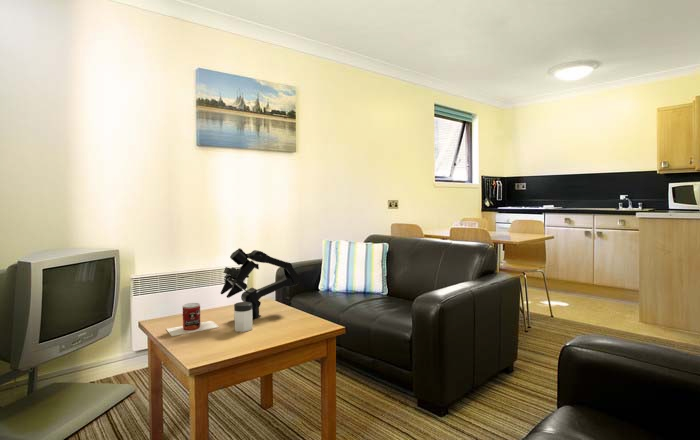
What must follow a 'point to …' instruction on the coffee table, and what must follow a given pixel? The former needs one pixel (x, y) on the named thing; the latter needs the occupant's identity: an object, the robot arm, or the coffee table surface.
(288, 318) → the coffee table surface
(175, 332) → the letter mat
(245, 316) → the jar
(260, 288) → the robot arm
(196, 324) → the canned food
